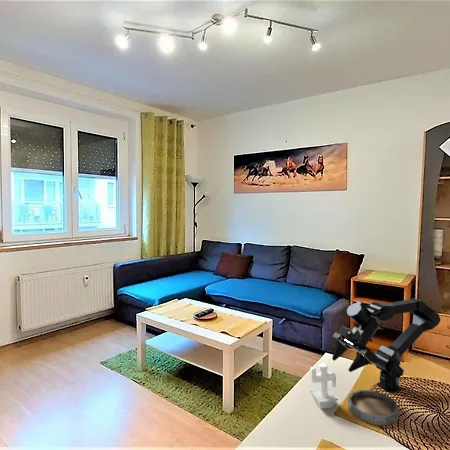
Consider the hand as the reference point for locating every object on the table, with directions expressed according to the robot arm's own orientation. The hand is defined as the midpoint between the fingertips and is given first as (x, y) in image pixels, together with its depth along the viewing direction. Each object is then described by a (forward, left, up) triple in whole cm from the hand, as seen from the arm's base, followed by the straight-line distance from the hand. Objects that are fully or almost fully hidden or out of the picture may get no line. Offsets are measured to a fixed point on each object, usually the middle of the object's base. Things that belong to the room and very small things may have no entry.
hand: (340, 365), depth 121 cm
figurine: (+8, -1, -13) cm, 15 cm away
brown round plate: (-5, +9, -13) cm, 17 cm away
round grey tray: (-5, +9, -13) cm, 17 cm away
